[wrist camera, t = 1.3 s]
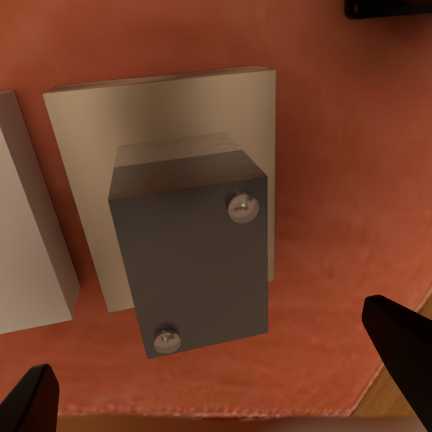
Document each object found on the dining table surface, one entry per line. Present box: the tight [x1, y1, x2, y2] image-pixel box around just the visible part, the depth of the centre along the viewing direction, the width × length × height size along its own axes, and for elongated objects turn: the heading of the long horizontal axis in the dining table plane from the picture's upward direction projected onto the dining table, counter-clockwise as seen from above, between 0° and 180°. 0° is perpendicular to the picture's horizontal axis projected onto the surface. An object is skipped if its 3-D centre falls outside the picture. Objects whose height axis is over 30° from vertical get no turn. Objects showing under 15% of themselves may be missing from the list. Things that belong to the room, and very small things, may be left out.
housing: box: [108, 132, 268, 359], centre depth 15 cm, size 5×7×6 cm
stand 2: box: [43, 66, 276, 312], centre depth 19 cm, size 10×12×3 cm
